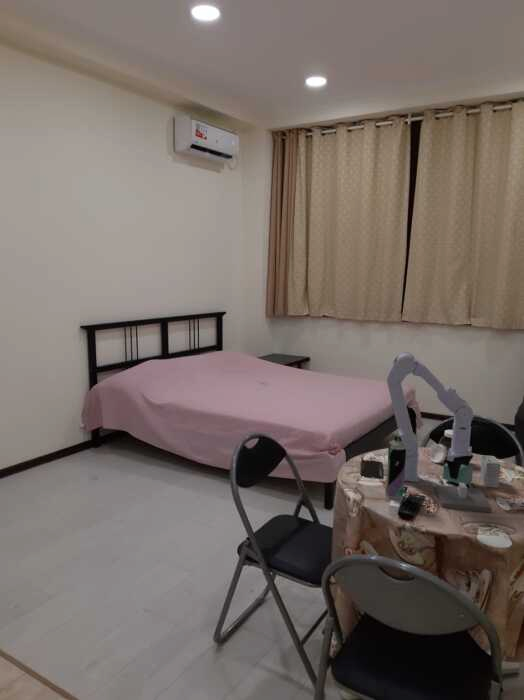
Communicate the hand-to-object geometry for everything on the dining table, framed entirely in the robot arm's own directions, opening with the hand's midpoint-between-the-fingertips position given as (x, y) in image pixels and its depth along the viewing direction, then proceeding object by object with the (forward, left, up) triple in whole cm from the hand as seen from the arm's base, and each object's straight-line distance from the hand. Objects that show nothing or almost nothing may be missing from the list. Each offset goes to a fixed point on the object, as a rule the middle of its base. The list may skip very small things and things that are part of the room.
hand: (457, 476), depth 174 cm
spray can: (-22, -16, -3) cm, 27 cm away
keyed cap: (0, 0, -1) cm, 1 cm away
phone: (-29, +5, -3) cm, 30 cm away
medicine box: (+11, +3, -3) cm, 12 cm away
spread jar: (0, +21, -3) cm, 21 cm away
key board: (-1, -14, -3) cm, 14 cm away
